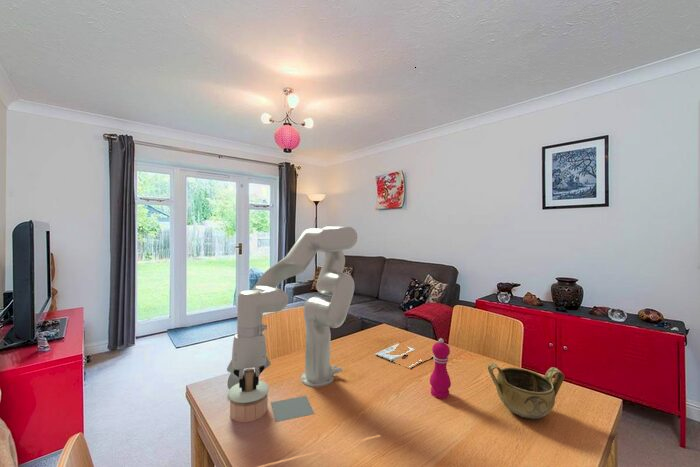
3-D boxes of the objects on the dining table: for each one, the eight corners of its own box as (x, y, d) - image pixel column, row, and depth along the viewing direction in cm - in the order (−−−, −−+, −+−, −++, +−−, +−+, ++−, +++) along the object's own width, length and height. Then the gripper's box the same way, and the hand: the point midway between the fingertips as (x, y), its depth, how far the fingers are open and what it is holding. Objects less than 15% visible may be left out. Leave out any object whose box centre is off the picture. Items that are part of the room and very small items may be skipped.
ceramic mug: (245, 399, 104) (246, 376, 104) (226, 394, 107) (227, 372, 107) (264, 385, 114) (265, 364, 114) (246, 380, 117) (247, 360, 117)
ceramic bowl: (498, 426, 93) (499, 376, 92) (479, 395, 109) (480, 353, 109) (576, 431, 91) (578, 381, 90) (545, 399, 108) (546, 357, 107)
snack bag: (399, 346, 155) (399, 342, 155) (434, 359, 140) (435, 354, 140) (373, 356, 142) (373, 351, 142) (409, 372, 127) (409, 367, 127)
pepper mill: (451, 391, 111) (453, 337, 111) (449, 402, 105) (450, 343, 105) (431, 387, 114) (432, 333, 114) (427, 396, 108) (429, 340, 108)
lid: (266, 383, 105) (266, 360, 104) (270, 401, 93) (271, 376, 93) (228, 389, 100) (228, 365, 100) (228, 409, 89) (228, 382, 89)
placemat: (306, 396, 106) (306, 395, 106) (314, 414, 96) (314, 413, 96) (270, 403, 102) (270, 402, 102) (275, 423, 92) (275, 422, 92)
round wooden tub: (264, 399, 104) (265, 384, 104) (269, 418, 94) (269, 402, 94) (230, 406, 100) (230, 390, 100) (230, 426, 90) (230, 409, 90)
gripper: (274, 324, 103) (273, 378, 103) (221, 329, 97) (220, 387, 97) (278, 331, 96) (277, 389, 96) (221, 337, 90) (220, 399, 90)
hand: (248, 387), depth 97 cm, fingers closed on lid, 3 cm apart
